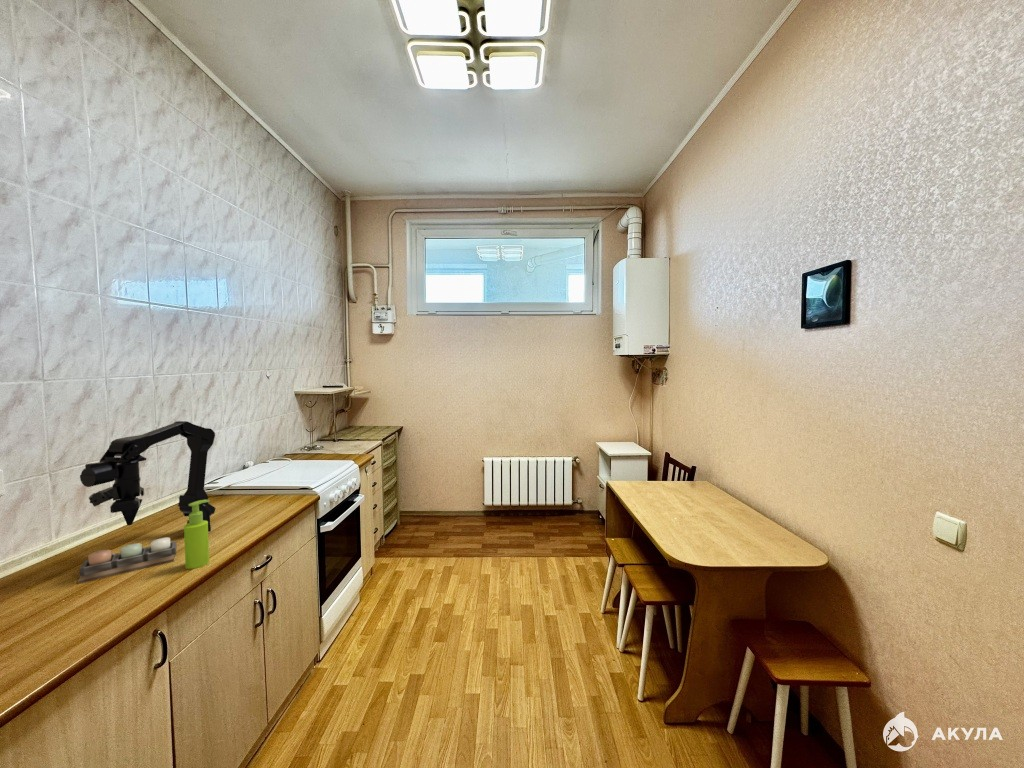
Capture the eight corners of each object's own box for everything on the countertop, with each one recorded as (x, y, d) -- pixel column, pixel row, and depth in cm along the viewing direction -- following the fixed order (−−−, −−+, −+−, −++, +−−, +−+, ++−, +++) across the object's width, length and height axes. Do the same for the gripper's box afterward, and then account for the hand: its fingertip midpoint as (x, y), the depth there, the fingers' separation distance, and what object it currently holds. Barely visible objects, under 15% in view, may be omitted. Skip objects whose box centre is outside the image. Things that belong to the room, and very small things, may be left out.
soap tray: (177, 545, 137) (177, 537, 137) (175, 561, 126) (174, 551, 126) (88, 565, 124) (87, 555, 124) (76, 584, 113) (76, 573, 113)
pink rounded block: (112, 560, 124) (112, 548, 124) (109, 566, 120) (109, 553, 120) (90, 565, 121) (90, 552, 121) (87, 571, 117) (86, 558, 117)
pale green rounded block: (142, 553, 128) (142, 542, 128) (141, 559, 124) (140, 547, 124) (122, 558, 125) (121, 546, 125) (120, 564, 121) (119, 551, 121)
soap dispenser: (217, 559, 127) (214, 499, 126) (193, 570, 120) (191, 506, 119) (204, 557, 129) (202, 497, 128) (181, 567, 122) (178, 504, 121)
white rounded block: (171, 547, 133) (170, 536, 132) (170, 553, 129) (169, 541, 129) (152, 551, 130) (151, 540, 129) (150, 557, 126) (149, 545, 126)
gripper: (96, 475, 127) (99, 522, 128) (84, 489, 113) (87, 542, 114) (143, 469, 135) (145, 514, 135) (137, 482, 120) (139, 531, 121)
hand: (129, 524), depth 126 cm, fingers closed
